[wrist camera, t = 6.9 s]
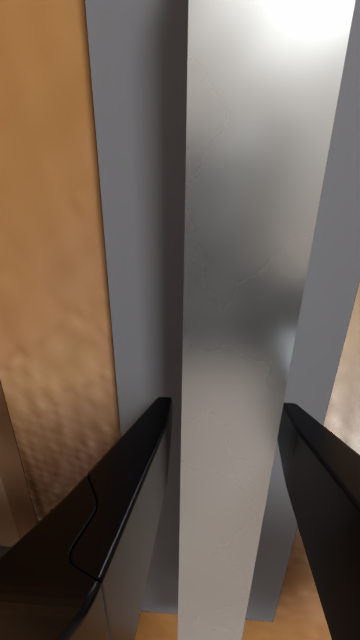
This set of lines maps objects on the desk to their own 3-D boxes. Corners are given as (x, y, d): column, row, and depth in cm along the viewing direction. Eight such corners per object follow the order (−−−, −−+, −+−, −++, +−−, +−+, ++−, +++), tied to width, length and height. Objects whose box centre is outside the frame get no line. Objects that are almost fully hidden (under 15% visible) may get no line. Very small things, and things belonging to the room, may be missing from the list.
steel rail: (231, 584, 14) (238, 657, 12) (180, 580, 14) (177, 652, 12) (327, -114, 6) (411, -318, 3) (195, -110, 6) (193, -302, 3)
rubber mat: (270, 606, 16) (273, 621, 15) (137, 596, 16) (135, 610, 16) (502, -366, 5) (540, -436, 4) (67, -333, 5) (52, -398, 5)
